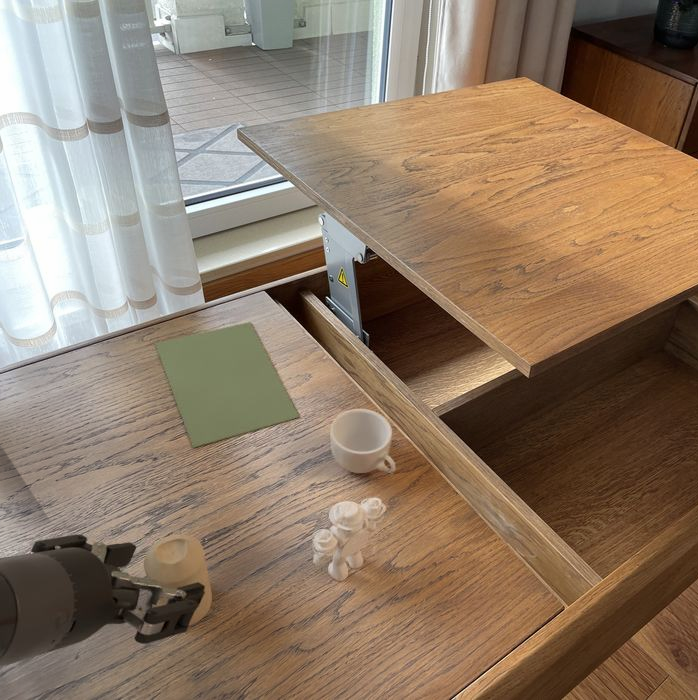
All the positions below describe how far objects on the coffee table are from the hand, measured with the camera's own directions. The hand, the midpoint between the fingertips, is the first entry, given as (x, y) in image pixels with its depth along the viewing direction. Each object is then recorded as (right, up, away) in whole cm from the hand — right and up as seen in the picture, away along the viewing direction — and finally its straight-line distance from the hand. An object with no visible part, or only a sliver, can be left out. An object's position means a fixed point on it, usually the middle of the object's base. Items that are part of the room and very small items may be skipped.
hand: (164, 573), depth 69 cm
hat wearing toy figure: (+16, -3, +12) cm, 20 cm away
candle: (0, -5, +6) cm, 8 cm away
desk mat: (-5, +17, +32) cm, 37 cm away
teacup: (+16, +7, +24) cm, 29 cm away
